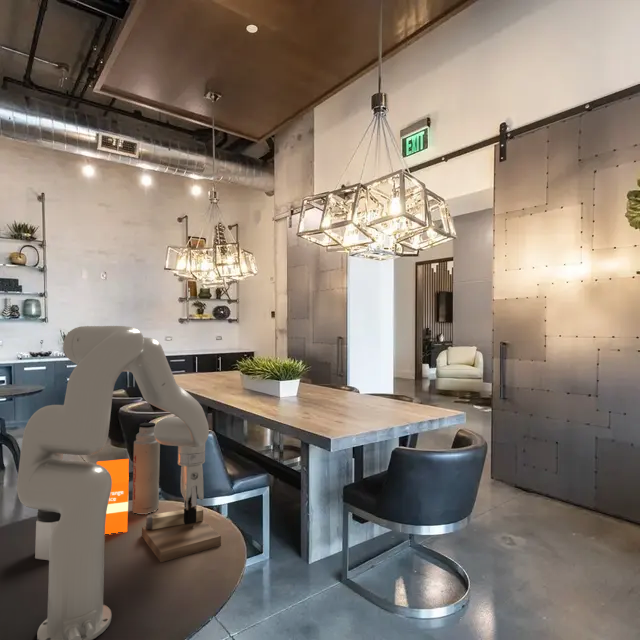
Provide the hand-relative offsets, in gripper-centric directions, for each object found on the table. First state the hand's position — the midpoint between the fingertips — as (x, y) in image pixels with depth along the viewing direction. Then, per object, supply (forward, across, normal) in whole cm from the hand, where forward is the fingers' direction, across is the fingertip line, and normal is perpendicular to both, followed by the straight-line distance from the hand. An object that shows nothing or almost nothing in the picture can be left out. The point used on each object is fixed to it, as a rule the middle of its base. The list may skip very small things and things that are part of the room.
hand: (189, 522), depth 127 cm
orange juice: (+4, +14, +20) cm, 25 cm away
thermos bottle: (+4, +25, +10) cm, 27 cm away
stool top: (+4, -2, +3) cm, 5 cm away
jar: (+4, +5, +33) cm, 34 cm away
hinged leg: (+1, +3, +4) cm, 5 cm away
